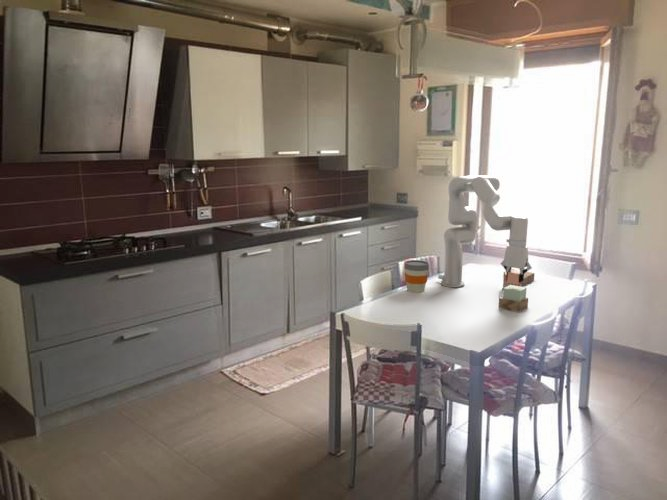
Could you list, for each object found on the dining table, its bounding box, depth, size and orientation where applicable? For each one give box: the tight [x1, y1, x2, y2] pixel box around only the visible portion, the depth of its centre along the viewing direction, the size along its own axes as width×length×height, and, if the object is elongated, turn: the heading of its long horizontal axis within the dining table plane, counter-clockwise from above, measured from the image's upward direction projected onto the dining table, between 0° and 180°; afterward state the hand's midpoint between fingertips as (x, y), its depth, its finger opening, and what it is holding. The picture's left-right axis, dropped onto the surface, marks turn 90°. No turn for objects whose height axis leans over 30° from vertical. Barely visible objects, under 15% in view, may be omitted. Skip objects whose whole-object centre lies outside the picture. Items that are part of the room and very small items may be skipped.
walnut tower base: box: [498, 296, 529, 313], centre depth 259 cm, size 10×10×5 cm
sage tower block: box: [502, 285, 527, 302], centre depth 258 cm, size 8×8×5 cm
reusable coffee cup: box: [404, 259, 430, 294], centre depth 285 cm, size 13×13×15 cm
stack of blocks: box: [502, 269, 523, 289], centre depth 282 cm, size 21×6×12 cm, turn 170°
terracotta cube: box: [507, 270, 522, 284], centre depth 256 cm, size 5×5×5 cm
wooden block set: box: [511, 268, 535, 287], centre depth 308 cm, size 17×6×18 cm
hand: (514, 280), depth 256 cm, fingers closed on terracotta cube, 5 cm apart
